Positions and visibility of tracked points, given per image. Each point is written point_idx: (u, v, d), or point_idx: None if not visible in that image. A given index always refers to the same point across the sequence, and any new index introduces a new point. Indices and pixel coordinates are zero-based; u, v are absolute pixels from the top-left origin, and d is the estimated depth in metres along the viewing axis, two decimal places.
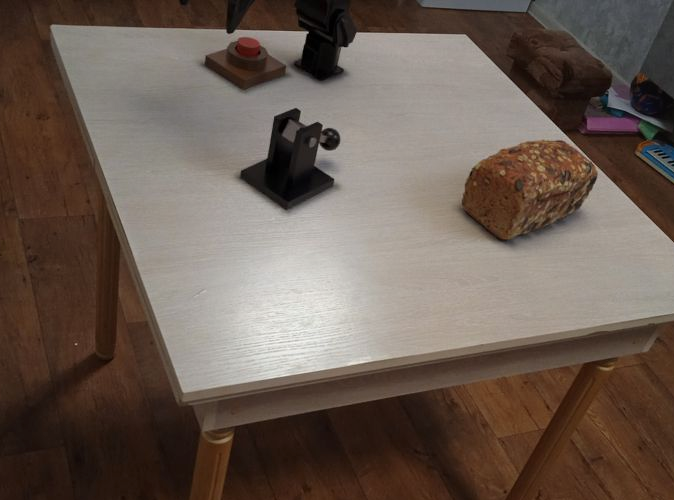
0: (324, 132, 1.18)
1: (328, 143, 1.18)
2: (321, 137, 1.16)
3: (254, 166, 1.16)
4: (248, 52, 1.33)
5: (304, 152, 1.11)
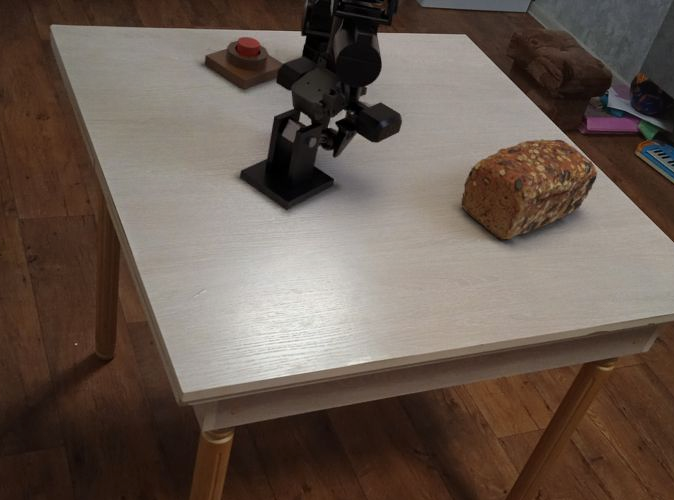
0: (324, 132, 1.18)
1: (328, 143, 1.18)
2: (321, 137, 1.16)
3: (254, 166, 1.16)
4: (248, 52, 1.33)
5: (304, 152, 1.11)
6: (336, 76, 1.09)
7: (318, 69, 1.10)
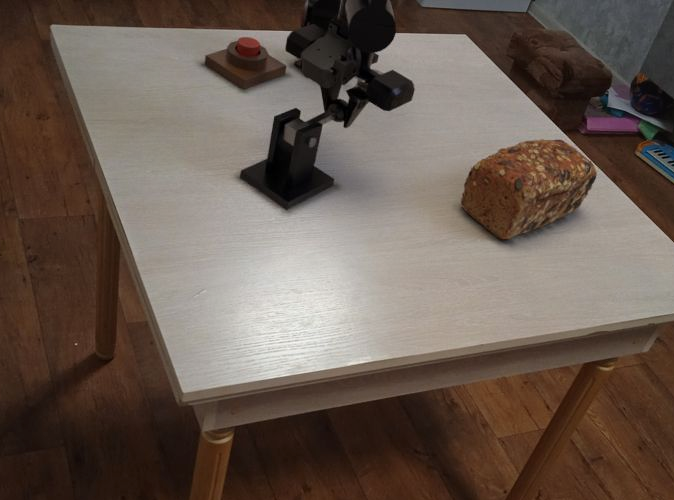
0: (331, 107, 1.16)
1: (337, 118, 1.16)
2: (327, 118, 1.14)
3: (254, 166, 1.16)
4: (248, 52, 1.33)
5: (304, 152, 1.11)
6: (347, 42, 1.06)
7: (329, 35, 1.07)
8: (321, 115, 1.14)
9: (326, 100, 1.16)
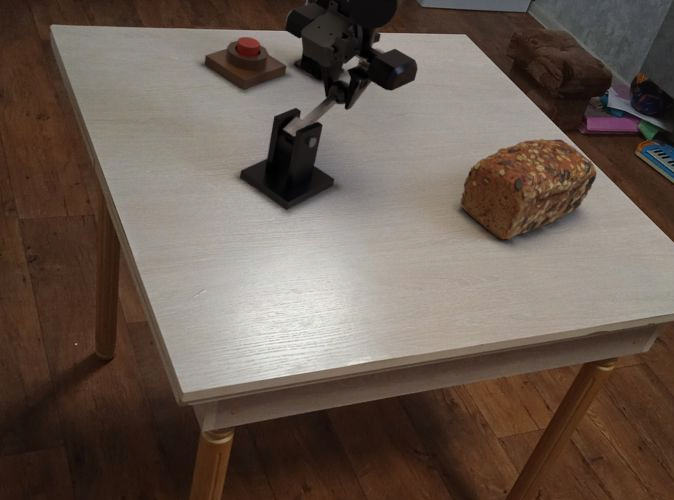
0: (330, 93, 1.13)
1: (339, 102, 1.14)
2: (327, 107, 1.13)
3: (254, 166, 1.16)
4: (248, 52, 1.33)
5: (304, 152, 1.11)
6: (348, 20, 1.04)
7: (329, 13, 1.05)
8: (321, 105, 1.13)
9: (327, 81, 1.14)
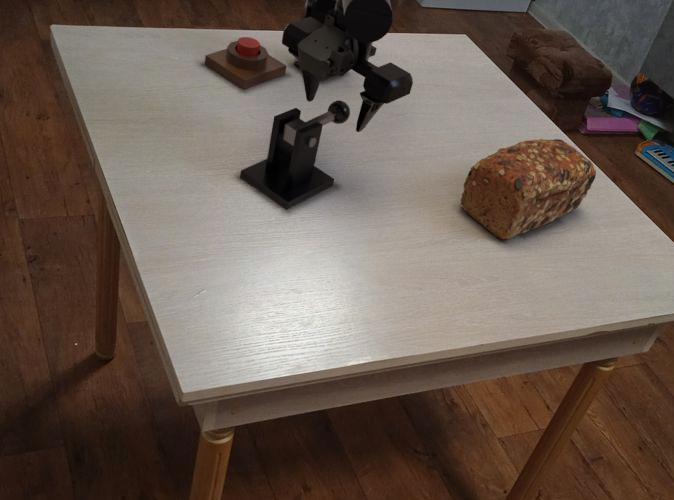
0: (331, 109, 1.16)
1: (337, 119, 1.16)
2: (327, 119, 1.15)
3: (254, 166, 1.16)
4: (248, 52, 1.33)
5: (304, 152, 1.11)
6: (344, 34, 1.05)
7: (326, 27, 1.06)
8: (321, 116, 1.14)
9: (308, 84, 1.16)
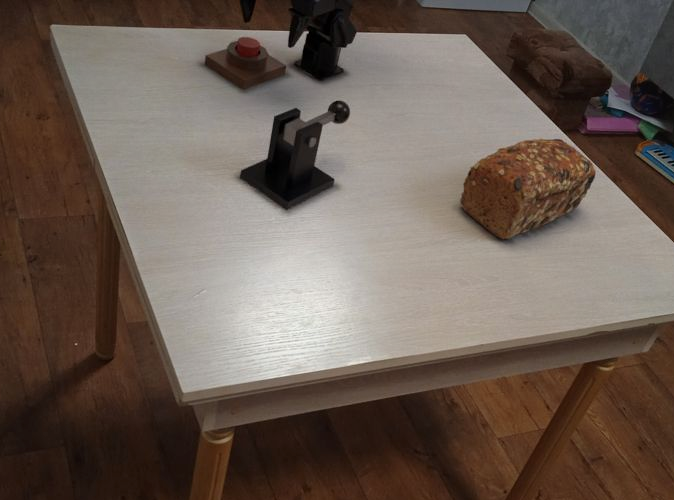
0: (331, 109, 1.16)
1: (337, 119, 1.16)
2: (327, 119, 1.15)
3: (254, 166, 1.16)
4: (248, 52, 1.33)
5: (304, 152, 1.11)
6: None
7: None
8: (321, 116, 1.14)
9: (243, 6, 1.28)
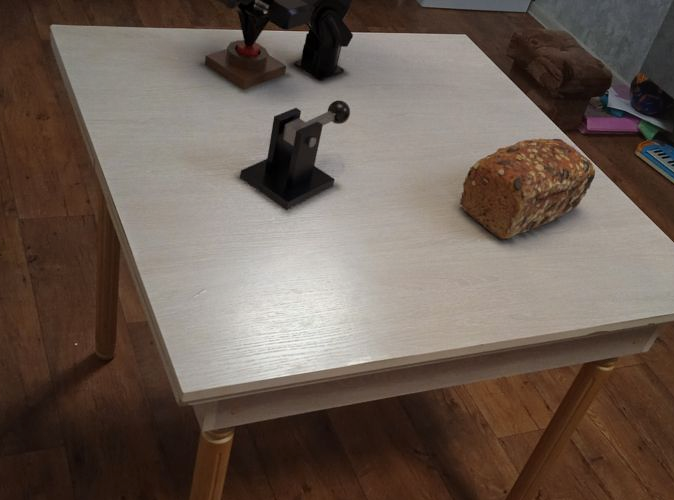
0: (331, 109, 1.16)
1: (337, 119, 1.16)
2: (327, 119, 1.15)
3: (254, 166, 1.16)
4: (248, 55, 1.34)
5: (304, 152, 1.11)
6: None
7: None
8: (321, 116, 1.14)
9: (245, 29, 1.32)
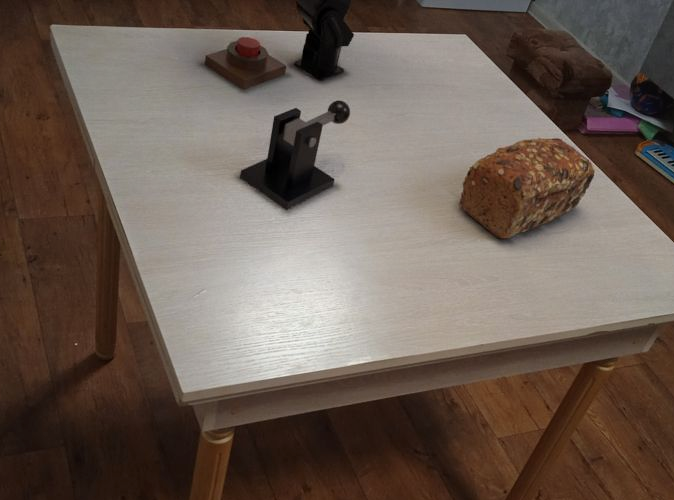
0: (331, 109, 1.16)
1: (337, 119, 1.16)
2: (327, 119, 1.15)
3: (254, 166, 1.16)
4: (248, 52, 1.33)
5: (304, 152, 1.11)
6: None
7: None
8: (321, 116, 1.14)
9: None
